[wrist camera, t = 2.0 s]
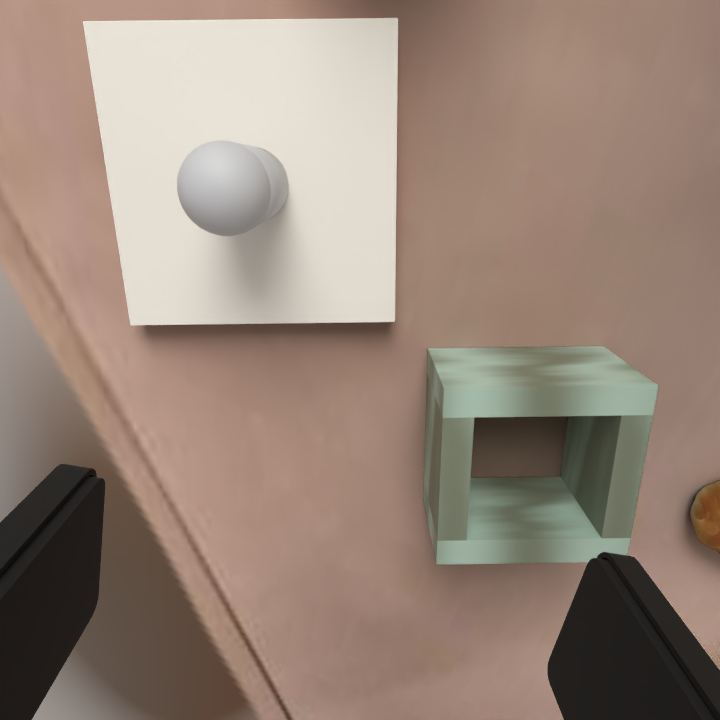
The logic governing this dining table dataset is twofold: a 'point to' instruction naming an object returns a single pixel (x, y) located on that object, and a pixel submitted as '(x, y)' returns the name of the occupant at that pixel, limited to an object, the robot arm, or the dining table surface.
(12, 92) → the dining table surface
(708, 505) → the pastry
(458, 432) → the collar
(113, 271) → the dining table surface
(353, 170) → the post board
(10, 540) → the robot arm
